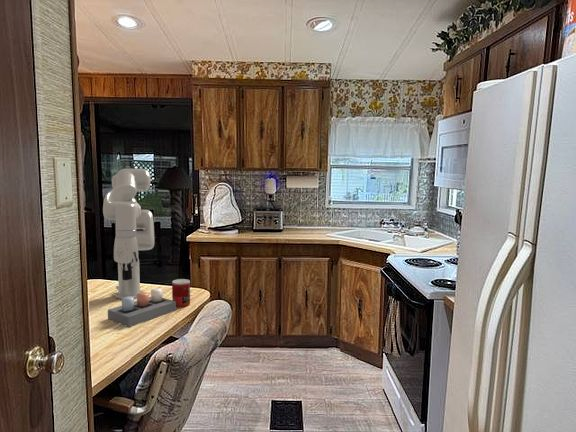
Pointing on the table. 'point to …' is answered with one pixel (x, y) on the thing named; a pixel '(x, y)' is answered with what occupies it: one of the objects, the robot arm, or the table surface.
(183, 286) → the canned food
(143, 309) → the grey slotted tray
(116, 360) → the table surface
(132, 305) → the pale blue rounded dome
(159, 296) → the white dome button
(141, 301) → the pink rounded dome
